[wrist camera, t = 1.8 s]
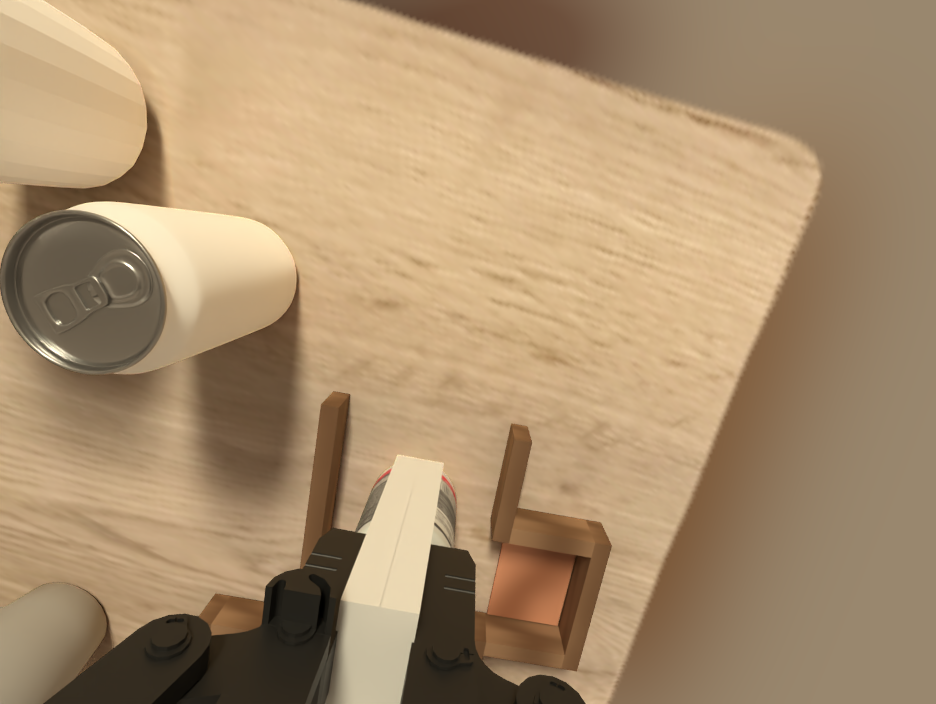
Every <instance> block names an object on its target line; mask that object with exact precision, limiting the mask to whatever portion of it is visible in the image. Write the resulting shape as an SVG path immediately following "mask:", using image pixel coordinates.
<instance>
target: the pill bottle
mask: <svg viewBox="0 0 936 704" xmlns="http://www.w3.org/2000/svg"><path fill="white" fill-rule="evenodd" d="M392 467H393V466H391V467H389V468H388V469H386V470H385V471H384V472H383V473H382V474H381V475H380V476H379V478H378V479H377V481H376V483H375V485H374V486H373V489H372V491H371V493H370V496H369V499H368V501H367V504H366V506H365V509H364V511H363V514H362V516H361V518H360V521H359V523H358V526H357V528H356V531H355V532H358V533H364V534H366V533H367V531H368V528H369V526H370V523H371V521H372V518H373V516H374V513H375V511H376V508H377V505H378V503H379V500H380V498H381V495H382V493H383V490H384V488H385V485H386V483H387V480H388V477H389V475H390V472H391V470H392ZM455 519H456V492H455V489H454V486H453V484H452V482H451V480H450V479H449V477H448V476H447V475H446V474H445V473H444V472H442V478H441V484H440V490H439V497H438V503H437V509H436V515H435V521H434V528H433V534H432V540H431V544H433V545H438V546H444V547H449V548H454V536H455Z"/></svg>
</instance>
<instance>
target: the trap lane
mask: <svg viewBox="0 0 936 704" xmlns="http://www.w3.org/2000/svg"><path fill="white" fill-rule="evenodd" d="M349 397H350V394H345V393H340V392H333V393H332V394H331V395H330V396H329V397H328V398H327V399H326V400H325V401H324V402H323V403H322V404H321V410H320V417H319V425H318V433H317V441H316V448H315V456H314V464H313V472H312V479H311V487H310V495H309V503H308V510H307V518H306V526H305V534H304V542H303V549H302V557H301V565H300V569H303V567H304V566H305V564H306V562H307V560H308V558H309V556H310V555H311V554H312V551H313V549H314V547H315V545H316V543H317V542H318V540H319V538H320V537H322V536H323V535H325V534H326V533H327V532H329V531H330V530H331V525H332V518H333V511H334V504H335V497H336V489H337V482H338V475H339V468H340V461H341V454H342V447H343V440H344V433H345V426H346V419H347V412H348V405H349ZM531 445H532V440H531V437H530V434H529V430H528V427H527V426H522V425H517V424H511V427H510V432H509V437H508V441H507V446H506V450H505V455H504V459H503V464H502V469H501V473H500V478H499V482H498V487H497V492H496V496H495V501H494V505H493V510H492V515H491V528H492V541H497V542H503V543H502V548H501V552H500V557H499V561H498V566H497V570H496V574H495V579H494V583H493V588H492V592H491V596H490V601H489V605H488V610H487V613H483V612H477V611H475V646H476V650H477V653H478V655H479V657H480V659H481V660H482V659H483V656H488V657H494V658H500V659H506V660H512V661H518V662H524V663H530V664H536V665H542V666H548V667H554V668H560V669H566V670H572V671H577V668H578V665H579V661H580V658H581V654H582V651H583V647H584V643H585V640H586V636H587V633H588V629H589V626H590V622H591V618H592V615H593V611H594V608H595V604H596V601H597V597H598V593H599V590H600V586H601V583H602V579H603V575H604V572H605V568H606V565H607V561H608V558H609V554H610V550H611V547H612V545H611V543H610V541H609V539H608V537H607V535H606V532H605V530H604V528H603V526H602V524H601V523H600V522H595V521H589V520H583V519H577V518H572V517H566V516H560V515H555V514H549V513H543V512H538V511H532V510H526V509H521V508H517V506H518V502H519V497H520V493H521V489H522V484H523V480H524V475H525V471H526V467H527V462H528V458H529V454H530V449H531ZM575 557H576V559H575ZM574 561H575V563H574ZM573 565H574V566H573ZM572 569H573V570H572ZM571 572H572V574H571ZM570 576H571V578H570ZM569 580H570V582H569ZM568 584H569V585H568ZM567 588H568V589H567ZM566 591H567V593H566ZM565 595H566V597H565ZM564 599H565V601H564ZM563 603H564V604H563ZM263 607H264V602H263V601H257V600H251V599H245V598H239V597H233V596H227V595H221V594H215V595H214V597H213V598H212V599H211V601H210V602H209V603H208V605H207V606H206V607H205V609H204V610H203V611H202V613H201V614H200V616H199V617H200V618H201V619H203V620H204V621H205V622H207V623H208V625H209V627H210V630H211V632H212V635H222V634H233V633H240V632H245V631H249V630H252V629H255V628H258V627H260V626H261V624H262V616H263ZM562 607H563V608H562ZM561 610H562V612H561ZM560 614H561V616H560ZM559 618H560V620H559ZM558 622H559V623H558Z"/></svg>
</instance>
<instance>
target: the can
mask: <svg viewBox="0 0 936 704" xmlns="http://www.w3.org/2000/svg"><path fill="white" fill-rule="evenodd" d="M296 283H297V274H296V266H295V263H294V260H293V257H292V255H291V253H290V251H289V250H288V248H287V247H286V245H285V244H284V242H283V241H282V240H281V239H280V238H279V236H278V235H277V234H276V233H275V232H273V231H272V230H271V229H270V228H268V227H267V226H265V225H263V224H261V223H259V222H257V221H254V220H251V219H248V218H243V217H237V216H230V215H223V214H215V213H207V212H199V211H191V210H183V209H175V208H167V207H158V206H150V205H141V204H132V203H122V202H90V203H84V204H80V205H77V206H74V207H71V208H69V209H66V210H58V211H53V212H49V213H46V214H43V215H40V216H38V217H36V218H34V219H32V220H31V221H29V222H28V223H26V224H25V225H24V226H23V227H21V228H20V229H19V230H18V231H17V232H16V234H15V235H14V236H13V237H12V239H11V240H10V242H9V244H8V246H7V248H6V250H5V252H4V255H3V258H2V263H1V268H0V290H1V296H2V300H3V303H4V307H5V309H6V312H7V314H8V316H9V319H10V321H11V322H12V324H13V326H14V327H15V329H16V330H17V332H18V333H19V335H20V336H21V337H22V338H23V340H24V341H25V342H26V343H27V344H28V345H29V346H30V347H31V348H32V349H33V350H34V351H36V352H37V353H38V354H39V355H41V356H42V357H43V358H45V359H46V360H48V361H50V362H51V363H53V364H55V365H57V366H59V367H62V368H64V369H67V370H70V371H73V372H77V373H82V374H89V375H104V374H111V373H114V374H140V373H145V372H150V371H154V370H157V369H160V368H163V367H166V366H169V365H171V364H174V363H176V362H179V361H182V360H184V359H187V358H190V357H192V356H195V355H197V354H200V353H202V352H205V351H207V350H210V349H213V348H215V347H218V346H220V345H223V344H225V343H228V342H230V341H233V340H235V339H238V338H240V337H243V336H245V335H248V334H250V333H253V332H255V331H258V330H260V329H262V328H265V327H267V326H269V325H271V324H272V323H274V322H275V321H277V320H278V319H279V318H280V317H281V316H282V315H283V314H284V313H285V312H286V311H287V309H288V308H289V306H290V304H291V302H292V300H293V298H294V294H295V291H296Z"/></svg>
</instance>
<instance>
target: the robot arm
mask: <svg viewBox="0 0 936 704" xmlns="http://www.w3.org/2000/svg"><path fill="white" fill-rule="evenodd" d="M443 466H444V463H441V462H436V461H431V460H425V459H420V458H414V457H409V456H403V455H398V454H397V457H396V460H395V462H394V465H393V467H392V470H391V472H390V475H389V477H388V480H387V483H386V485H385V488H384V490H383V493H382V495H381V498H380V500H379V503H378V505H377V508H376V511H375V513H374V516H373V518H372V521H371V523H370V526H369V528H368V531H367V533H366V534H364V533H358V532H353V531H347V530H341V529H336V528H333V529H332V530H330V531H329V532H327V533H326V534H325V535H323V536H322V537H320V538H319V540H318V542H317V543H316V545H315V547H314V549H313V551H312V554H311V555H310V556H309V558H308V560H307V562H306V564H305V566H304V567H303V569H296V570H291V571H286V572H284V573H282V574H280V575H278V576H276V577H274V578H273V579H272V580H271V581H270V582H269V583H268V584H267V585H266V589H265V598H264V607H263V616H262V624H261V626H260V627H258V628H255V629H252V630H249V631H245V632H240V633H233V634H222V635H212V632H211V630H210V627H209V625H208V623H207V622H205V621H204V620H203V619H201V618H200V617H198V616H193V615H188V614H176V615H168V616H165V617H162V618H159V619H155V620H153V621H151V622H149V623H148V624H146V625H144V626H143V627H141V628H139V629H138V630H137V631H135V632H134V633H133V634H131V635H130V636H129V637H128V638H126V639H125V640H124V641H122V642H121V643H120V644H119V645H117V646H116V647H115V648H113V649H112V650H111V651H110V652H108V653H107V654H106V655H105V656H103V657H102V658H101V659H99V660H98V661H97V662H96V663H94V664H93V665H92V666H90V667H89V668H88V669H87V670H85V671H84V672H83V673H82V674H80V675H79V676H78V677H76V678H75V679H74V680H73V681H71V682H70V683H69V684H67V685H66V686H65V687H64V688H62V689H61V690H60V691H59V692H57V693H56V694H55V695H53V696H52V697H51V698H50V699H48V700H47V701H46V702H44V703H43V704H585V702H584V701H583V699H582V698H581V696H580V695H579V693H578V692H577V691H575V690H574V689H573V688H572V687H571V686H570V685H568V684H567V683H566V682H564V681H561V680H559V679H557V678H555V677H553V676H546V675H536V676H532V677H528V678H527V679H526V680H525V681H524V682H522V683H521V684H520V686H518V685H516V684H514V683H511V682H509V681H507V680H505V679H503V678H502V677H500V676H498V675H497V674H495V673H493V672H492V671H491V670H490V669H489V668H488V667H487V666H486V665H485V664H484V663H483V661H482V660H481V659H480V657H479V655H478V653H477V650H476V646H475V567H476V565H475V563H474V561H473V559H472V558H471V556H470V554H469V552H468V551H466V550H461V549H455V548H449V547H444V546H438V545H433V544H431V540H432V534H433V528H434V521H435V515H436V509H437V503H438V497H439V490H440V484H441V478H442V472H443Z"/></svg>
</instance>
